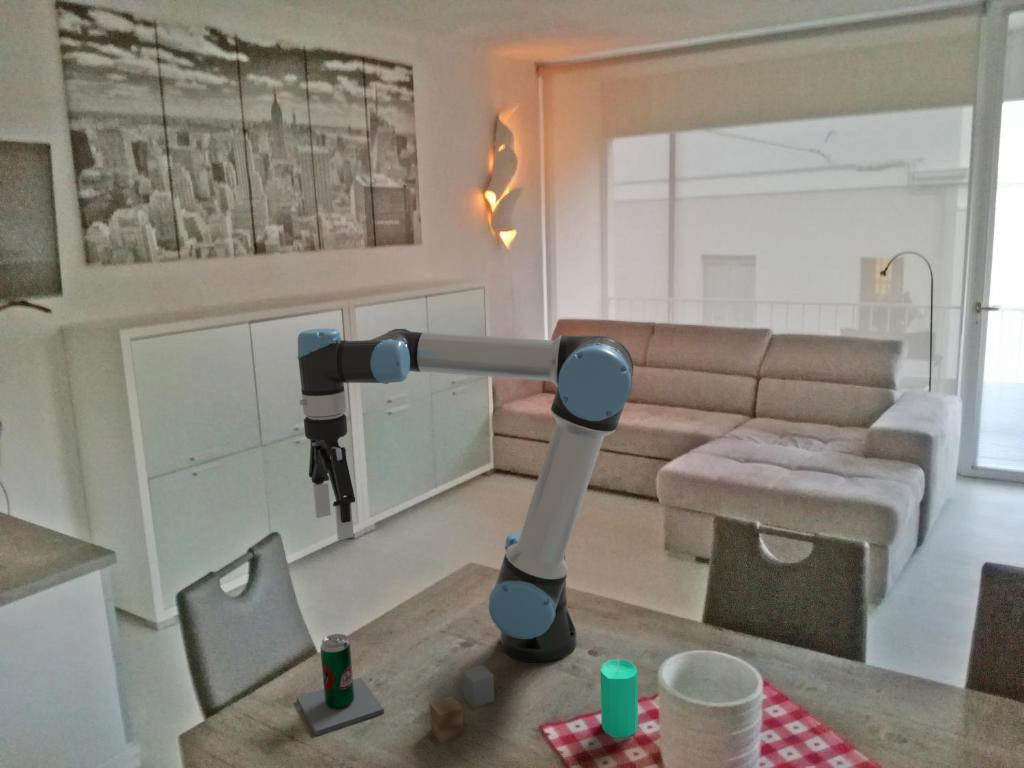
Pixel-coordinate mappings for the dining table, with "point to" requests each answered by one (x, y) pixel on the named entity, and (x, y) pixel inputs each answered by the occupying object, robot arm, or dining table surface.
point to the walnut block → (446, 719)
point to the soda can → (337, 671)
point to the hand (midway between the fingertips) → (334, 526)
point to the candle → (619, 698)
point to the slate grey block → (478, 686)
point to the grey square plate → (332, 719)
